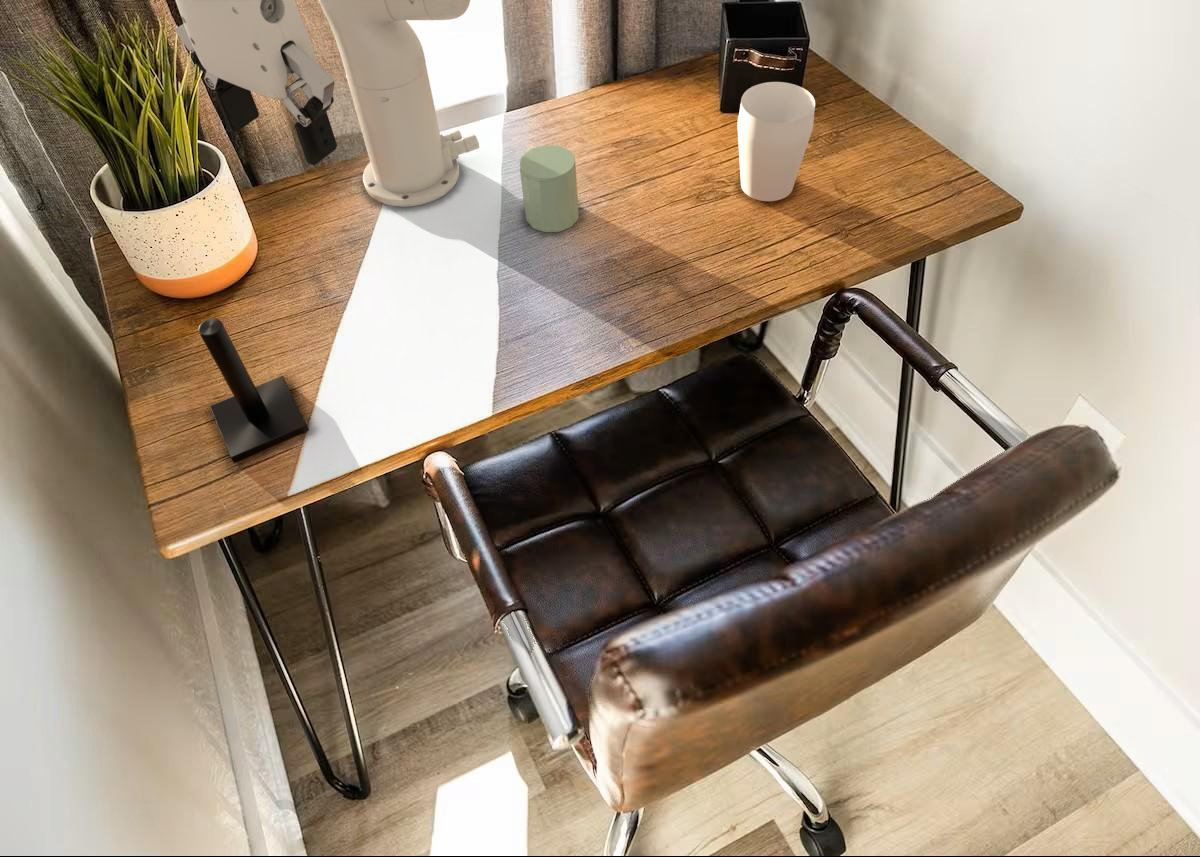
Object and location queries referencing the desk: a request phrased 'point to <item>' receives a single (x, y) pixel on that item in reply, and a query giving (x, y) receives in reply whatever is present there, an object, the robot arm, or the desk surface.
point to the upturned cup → (549, 188)
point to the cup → (773, 138)
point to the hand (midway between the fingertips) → (283, 139)
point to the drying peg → (249, 401)
